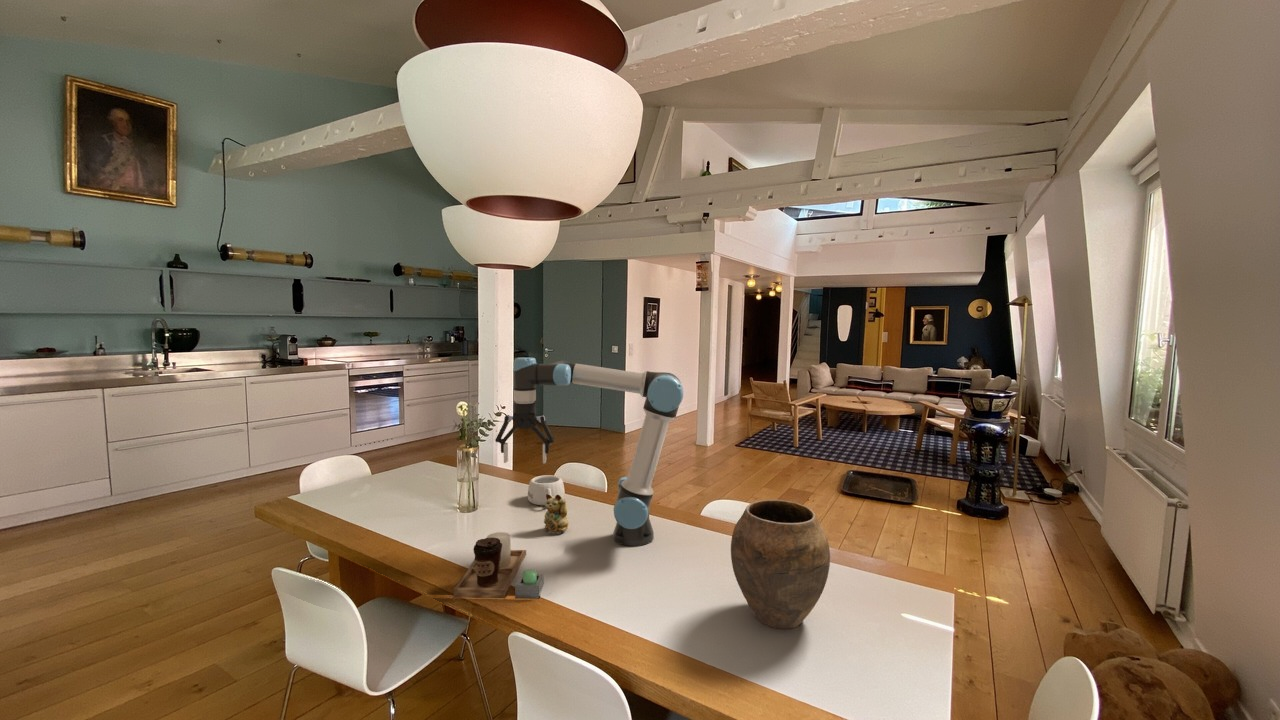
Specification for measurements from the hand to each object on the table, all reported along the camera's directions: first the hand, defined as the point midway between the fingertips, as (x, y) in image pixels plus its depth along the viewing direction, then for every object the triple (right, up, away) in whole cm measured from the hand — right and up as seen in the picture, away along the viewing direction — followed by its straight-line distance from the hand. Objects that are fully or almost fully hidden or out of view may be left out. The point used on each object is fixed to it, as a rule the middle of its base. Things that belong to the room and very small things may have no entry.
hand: (525, 462), depth 182 cm
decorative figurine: (+8, -31, +20) cm, 37 cm away
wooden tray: (-6, -33, -17) cm, 37 cm away
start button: (+7, -33, -27) cm, 43 cm away
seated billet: (-6, -31, -10) cm, 34 cm away
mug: (-2, -29, +52) cm, 59 cm away
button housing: (+7, -34, -27) cm, 44 cm away
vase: (+78, -35, -39) cm, 94 cm away
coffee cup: (-6, -32, -23) cm, 40 cm away
